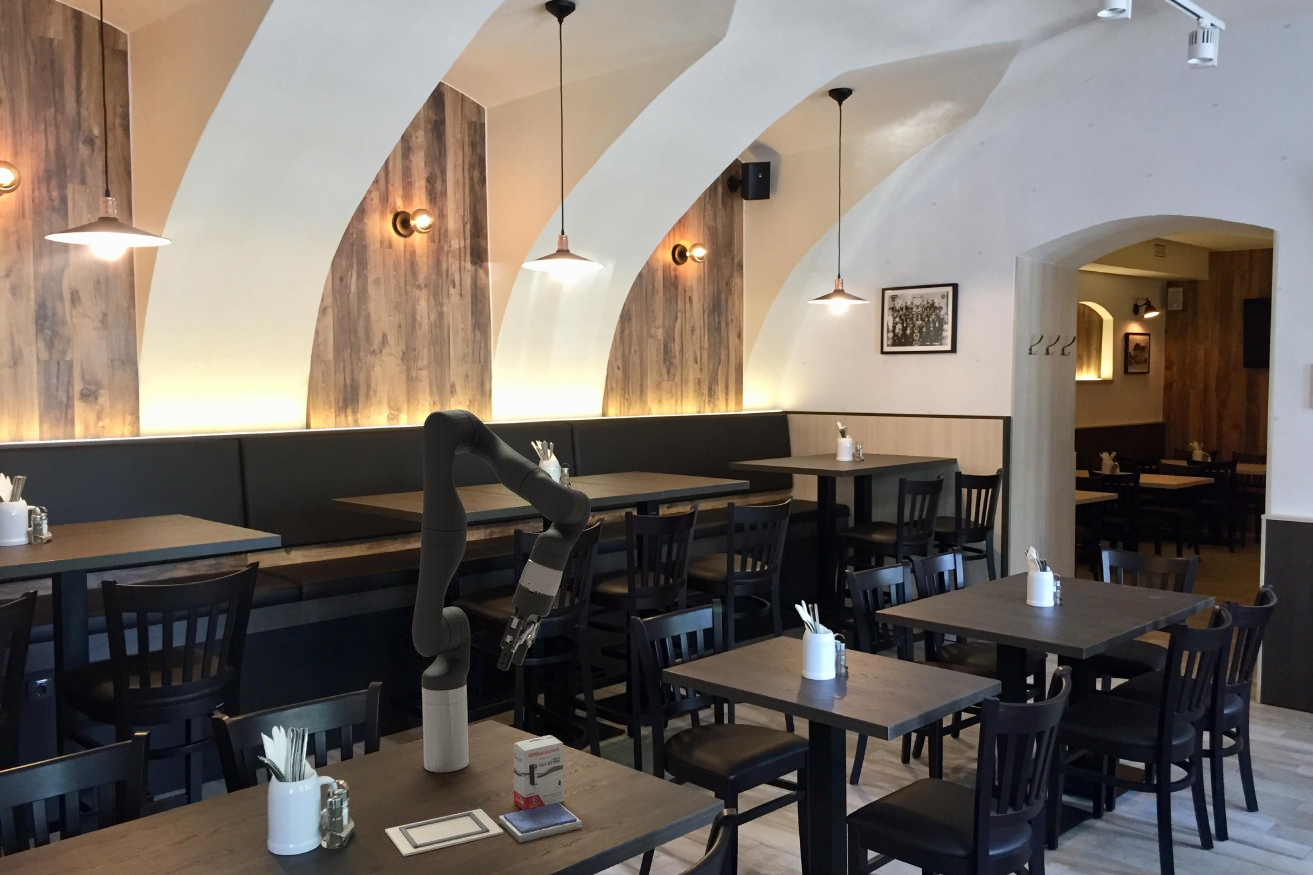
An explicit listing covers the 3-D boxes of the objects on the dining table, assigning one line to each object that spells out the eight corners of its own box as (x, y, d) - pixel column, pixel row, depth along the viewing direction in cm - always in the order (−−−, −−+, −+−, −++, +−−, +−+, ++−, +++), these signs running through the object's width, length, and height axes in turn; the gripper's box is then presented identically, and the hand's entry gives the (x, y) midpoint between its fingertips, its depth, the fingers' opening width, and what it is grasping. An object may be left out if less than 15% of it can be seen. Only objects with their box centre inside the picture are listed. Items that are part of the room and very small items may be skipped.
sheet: (385, 831, 191) (385, 827, 191) (480, 810, 200) (480, 807, 200) (403, 856, 181) (403, 852, 181) (503, 833, 189) (503, 829, 189)
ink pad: (498, 822, 194) (498, 814, 194) (559, 809, 200) (559, 800, 200) (519, 842, 186) (519, 833, 186) (581, 827, 191) (581, 819, 191)
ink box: (525, 812, 199) (523, 749, 199) (513, 803, 203) (511, 742, 203) (565, 801, 204) (563, 740, 203) (553, 793, 208) (551, 734, 207)
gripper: (531, 578, 212) (503, 655, 212) (508, 581, 198) (478, 663, 198) (565, 592, 211) (537, 669, 210) (545, 596, 197) (514, 679, 196)
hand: (508, 666), depth 204 cm, fingers open, 8 cm apart
